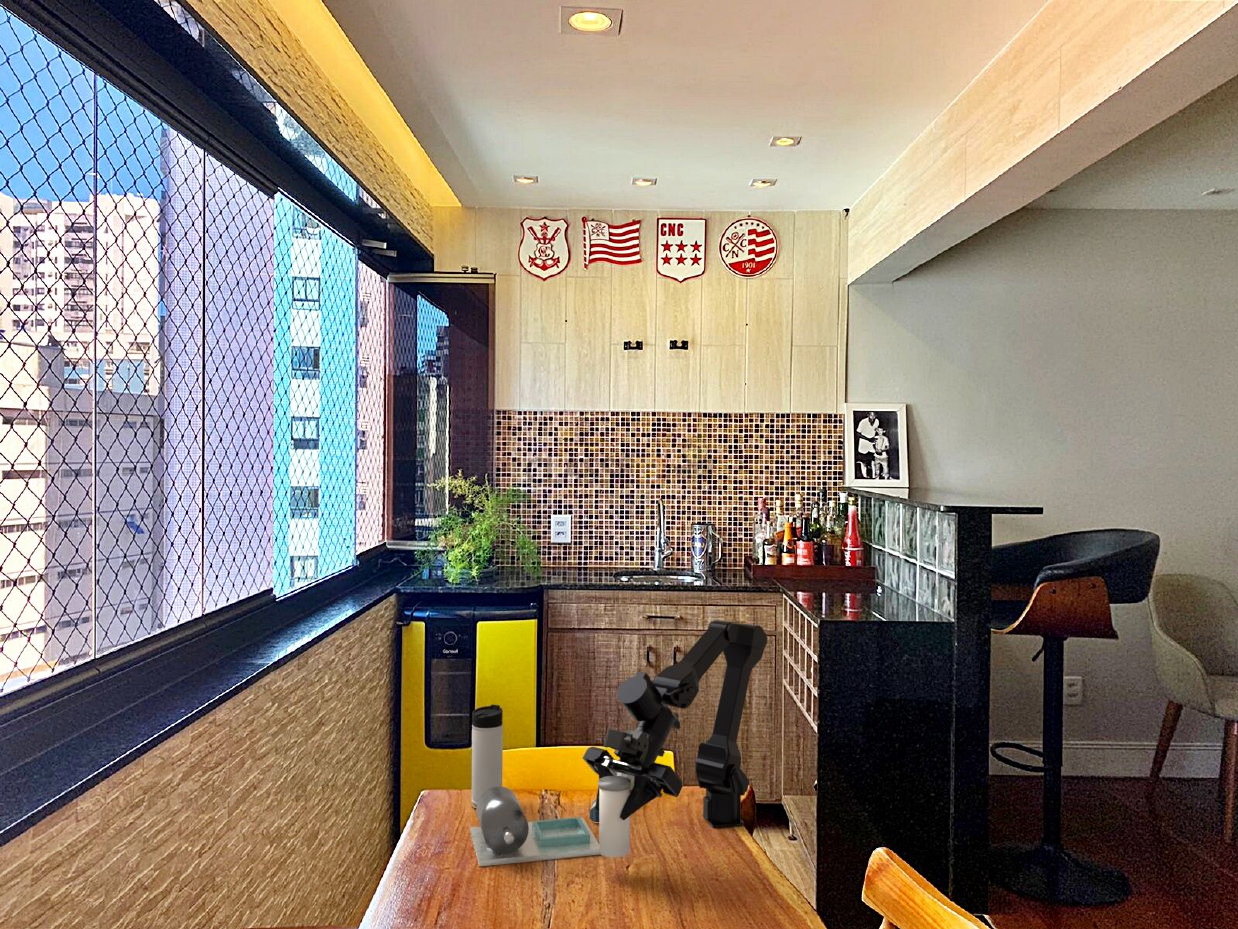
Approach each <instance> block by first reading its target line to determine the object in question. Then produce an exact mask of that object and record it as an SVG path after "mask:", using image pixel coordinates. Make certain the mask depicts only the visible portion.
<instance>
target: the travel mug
mask: <svg viewBox="0 0 1238 929" xmlns="http://www.w3.org/2000/svg"><path fill="white" fill-rule="evenodd" d="M503 711H504V710H503V708H502V707H501V706H500V705H499V704H490V705H485V706H480V707H478V708H475V709H474V710H473V711H472V714H471V715H472V718H471V721H472V722H471V723H472V725H471V727H472V728H471V729H472V730H471V805H472V804H473V805H474V806H475V807H477V803H478V800H479V798H480V797H481V795H482V794H483V793H484V792H485V791H487V790H488V789H490V788H493V787H503V772H504V771H503V762H504V761H503V754H504V751H503V748H504V747H503V746H504V745H503V744H504V742H503V740H504V738H503V736H504V735H503V734H504V732H503V731H504V729H503V728H504V727H503V726H504V723H503V718H504V717H503V713H504V712H503Z"/></svg>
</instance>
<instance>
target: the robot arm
mask: <svg viewBox="0 0 1238 929" xmlns="http://www.w3.org/2000/svg"><path fill="white" fill-rule="evenodd" d="M767 643H768V635H767V633H766V632H765V630H764V628H763V627H762V625H759V624H758V625H756V624H752V623H751V624H749V623H743V622H734V621H733V622H732V621H728V620H727V621H725V620H719V619H715V620H713V621H710V622H709V624H708V626H707V630H706V631H705V632H704V633H703V634H702V635H701V636H700V637H699V639H698V640H697V641H696V642H695V643H694V644H693V646H692V647H691V648H690V649H689V651H687V653H686V654H685V655H684V656H683V658H682V659H680V660H679V662H677V663H674V664H672V665H669V666H666V667H665V668H664V669H663V670H661V671H660V672H659V673H658V674H656V675H655V677H654V678H653V679H651V677H650V675H649V674H648V673H647V672H643V671H637V672H636V673H635V675H634V676H632V677H629V678H627V679H626V680H625V681H623V683H621V684H620V685H619V686H618V689H617V691H616V692H617V693H616V696H617V699H618V701H619V702H620V703H621V704H622V706H623V708H625V709H626V710H627V713H629V714H630V716H631V717H632V718H633V719H634V720H635V721H638V723H637V725H636V726H635V728H634V729H629V730H627V732H624V731H621V730H616V729H613V728H608V729H607V731H606V735H605V739H604V743H603V744H602V745H603V746H602V747H604V748H600V747H596V746H591V747H587V749H586V750H585V753H584V755H583V756H582V759H583V761H584V762H585V763H586V764H587V765H588V767H590V769H591V770H592V771H593V772H594V773H595V774H597V775H598V780H599V779H600V778H603V777H606V776H617V773H618V772H619V773H623V774H627V775H630V776H634V787H633V789H632V790H631V791H630V795H629V797H628V799H627V801H626V803H625V805H624V807H623V809H622V812H621V815H620V818H621V819H622V820H625V819H627V818H628V817H629V816H630V817H631V816H632V815H633V814H634V813H636V812H637V811H639V810H640V809H641V808H642V807H644V806H645V805H647V804H649V803H650V802H652V801H653V800H654V799H656V798H661V797H662V796H663V793H664V794H665V795H667V796H671V797H675V798H678V797H679V796H680V793H681V791H682V789H683V781H682V779H681V778H680V777H679V775H678V774H677V773H676V771H675V770H674V769H673V768H672V766H671V765H670V766H669V765H666V764H663V763H658V762H657V761H656V760H657V758H658V757H660V758H661V757H662V758H663V757H664V755H665V750H664V749H663V746H664V744H665V743H666V740H667V738H668V737H669V734H670V732H671V730H672V729H677V730H680V729H681V721H680V719H679V713H678V712H673V711H672V710H671V708H670V707H672V708H675V709H676V708H677V709H682V710H686V709H687V708H689V707H690V706H691V705H692V703H693V702H694V700H695V698H696V697H697V696H698V693H699V691H700V681H701V679H702V678H703V676H704V675H705V674H706V672H707V671H708V670H709V669H710V668H711V666H712V665H713V664H714V663H715V661H716V660H717V659H718V658H719V657H720V655H721V654H722V653H723V656H724V659H725V661H726V667H725V672H724V677H723V682H722V687H721V691H720V695H719V701H718V704H717V705H718V706H717V710H716V715H715V719H714V724H713V729H712V733H711V736H710V737H709V739H708V740H706V741H705V742H703V741H701V742H700V744H699V745H698V750H697V755H696V759H695V761H694V763H695V768H694V769H695V770H694V771H695V772H694V773H695V776H696V779H697V782H698V783H697V784H698V787H699V788H700V789H705V796H703V804H702V807H703V808H702V810H703V812H702V813H703V814H702V817H703V819H704V820H705V821H706V820H707V821H708V822H709V823H710V824H711V825H712V826H713V827H712V826H711V825H710V824H709V823H708V822H707V823H708V824H709V825H710V826H711V827H712V828H724V827H735V826H744V825H745V821H744V820H742V815H741V814H742V813H741V812H742V808H741V806H742V805H741V802H742V796H745V795H746V793H747V792H748V789H749V785H750V784H749V783H750V779H749V778H748V777H747V776H746V774H745V773H744V771H743V770H742V769H741V764H742V755H741V752H740V749H739V746H738V744H737V742H738V736H739V732H740V726H741V721H742V716H743V711H744V706H745V702H746V698H747V691H748V688H749V682H750V678H751V673H752V670H753V669H755V668H754V667H756V665H757V664H758V663H759V662H761V660H762V658H763V654H764V652H765V648H766V646H767ZM605 748H606V749H605ZM607 748H609V749H612V750H614V751H613V754H614V755H615V756H616V757H618V758H619V759H615V758H614V757H613V755H612V754H611V753H610V752H609V751H608V750H607ZM662 792H663V793H662ZM596 798H597V799H596ZM596 798H595V799H596V806H595V810H596V811H597V812H599V787H597V793H596Z"/></svg>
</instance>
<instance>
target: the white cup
mask: <svg viewBox="0 0 1238 929" xmlns="http://www.w3.org/2000/svg"><path fill="white" fill-rule="evenodd" d="M597 782H598V783H597V784H598V787H599V823H598V825H599V826H598V828H599V829H598V830H599V831H598V832H599V833H598V834H599V837H598V840H599V841H598V843H599V853H600V854H601V855H600V856H603V857H606V858H613V859H615V858H622V857H626V856H628V855H630V853H631V846H630V845H631V839H630V838H631V834H630V833H631V830H630V829H631V828H630V827H631V822H630V821H631V819H630V818H631V816H629V817H628V818H627V819H625V820H622V819H621V818H620V815H621V812H622V809H623V807H624V805H625V803H626V801H627V799H628V797H629V795H630V793H631V791H630V787H631V780H630V779H629V778H627V777H623V776H606V777H603V778H600V779H599V778H598V781H597ZM598 787H597V788H598Z"/></svg>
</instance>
